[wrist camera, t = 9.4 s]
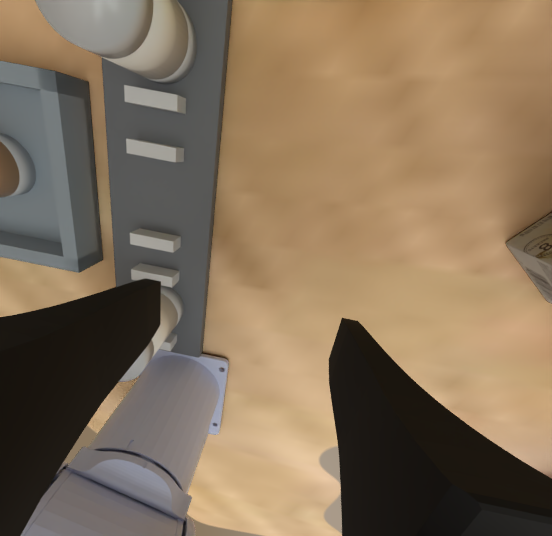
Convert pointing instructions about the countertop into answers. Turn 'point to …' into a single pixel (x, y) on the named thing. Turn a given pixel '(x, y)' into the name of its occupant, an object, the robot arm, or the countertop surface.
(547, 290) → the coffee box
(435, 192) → the countertop surface
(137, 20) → the ball
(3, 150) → the marked fuse
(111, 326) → the robot arm
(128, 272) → the board
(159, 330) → the cylinder
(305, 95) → the countertop surface
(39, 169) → the tray
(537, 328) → the countertop surface
